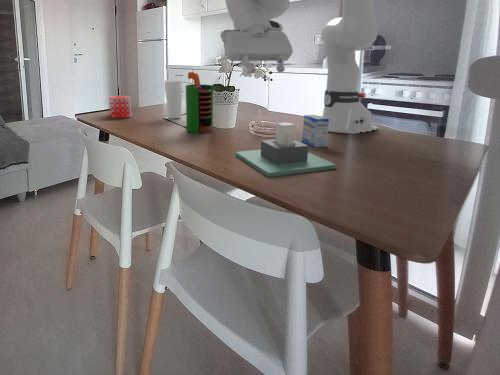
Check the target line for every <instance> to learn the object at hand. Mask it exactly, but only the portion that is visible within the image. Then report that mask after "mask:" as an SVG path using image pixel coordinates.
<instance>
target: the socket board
mask: <svg viewBox="0 0 500 375" xmlns="http://www.w3.org/2000/svg"><path fill="white" fill-rule="evenodd" d="M235 156H236V157H237V158H239V159H240V160H242V161H244V162H245V163H247V165H250V166H251V167H253V169H255V170H257V171H259V172H261V173H262V174H263V175H265V176H266V177H267V178H273V177H274V178H275V177H279V176H289V175H296V174H297V175H298V174H303V173H304V174H305V173H311V172H319V171H320V172H321V171H328V170H334V169H335V170H336V168H337V164H335V163H333V162H331V161H329V160H326V159H324V158H322V157H320V156H317V155H315V154H313V153H311V152H309V145H308V144H306V143H303V142H302V141H301V142H300V141H298V140H296V139H294V145H293V147H287V146H279V145H277V144H275V139H267V140H266V139H265V140H260V149H251V150H243V151H235Z"/></svg>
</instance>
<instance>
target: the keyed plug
mask: <svg viewBox="0 0 500 375" xmlns="http://www.w3.org/2000/svg"><path fill="white" fill-rule="evenodd" d="M295 129H296V124H293V123H290V122H276V123H275V139H274V140H275V144H277V145H279V146H287V147H293V145H294V140H295Z"/></svg>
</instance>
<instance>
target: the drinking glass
mask: <svg viewBox="0 0 500 375" xmlns="http://www.w3.org/2000/svg"><path fill="white" fill-rule="evenodd" d="M182 83H183V82H182V81H181V80H179V79H178V80H174V79H173V80H172V79H171V80H164V92H165V93H164V94H165V99H166V107H167V115H168V116H167V117H168V119H171V118H179V117H181V118H182V98H183V96H182V95H183V88H182V87H183V84H182ZM179 119H180V118H179Z"/></svg>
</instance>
